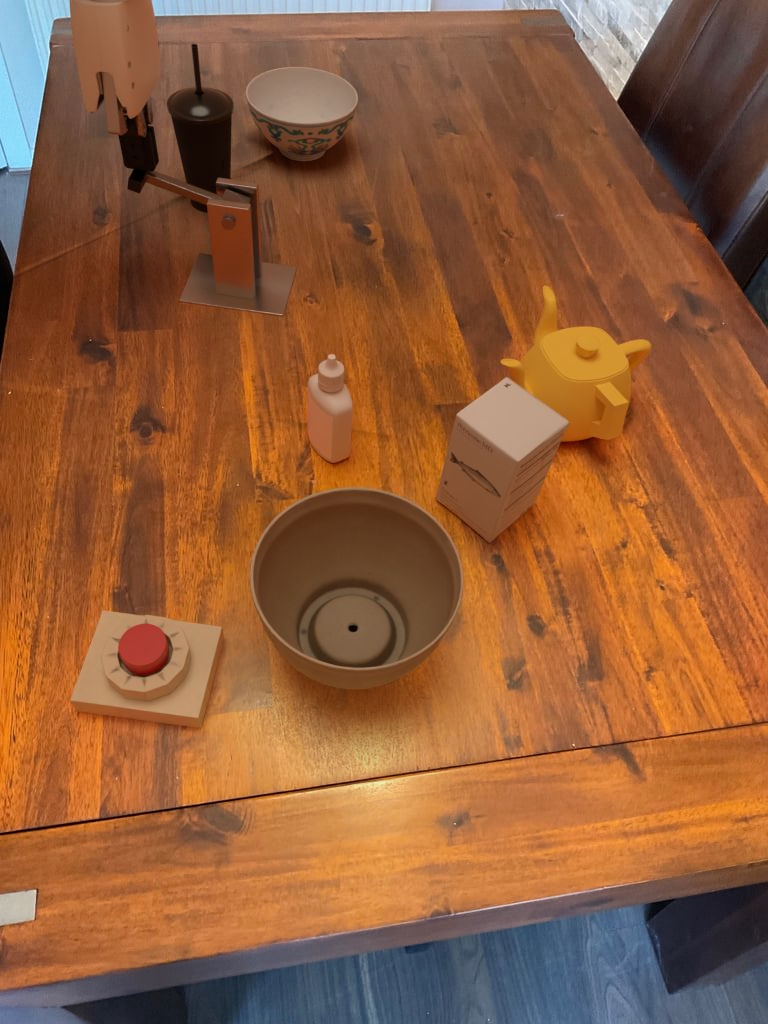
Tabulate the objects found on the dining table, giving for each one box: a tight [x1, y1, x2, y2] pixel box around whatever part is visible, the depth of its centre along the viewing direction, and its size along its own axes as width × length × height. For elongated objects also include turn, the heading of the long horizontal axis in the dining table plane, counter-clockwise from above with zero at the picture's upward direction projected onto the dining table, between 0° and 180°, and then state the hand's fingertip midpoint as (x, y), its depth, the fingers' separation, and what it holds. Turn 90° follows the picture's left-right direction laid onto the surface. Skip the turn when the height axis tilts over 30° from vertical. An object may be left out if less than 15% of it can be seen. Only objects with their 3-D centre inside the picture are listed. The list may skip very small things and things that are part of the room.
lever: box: [127, 169, 251, 205], centre depth 85 cm, size 12×5×2 cm, turn 84°
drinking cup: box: [166, 43, 235, 214], centre depth 96 cm, size 8×8×20 cm
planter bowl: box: [249, 486, 465, 690], centre depth 65 cm, size 16×16×11 cm
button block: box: [69, 609, 225, 729], centre depth 64 cm, size 10×8×4 cm
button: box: [118, 624, 169, 675], centre depth 62 cm, size 4×4×2 cm
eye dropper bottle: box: [306, 353, 354, 464], centre depth 77 cm, size 4×6×12 cm
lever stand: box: [178, 178, 298, 317], centre depth 89 cm, size 12×9×13 cm
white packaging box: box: [435, 376, 569, 544], centre depth 74 cm, size 7×7×13 cm
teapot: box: [500, 285, 652, 443], centre depth 84 cm, size 14×13×10 cm
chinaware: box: [245, 66, 359, 162], centre depth 111 cm, size 15×15×8 cm
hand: (142, 165), depth 83 cm, fingers closed
